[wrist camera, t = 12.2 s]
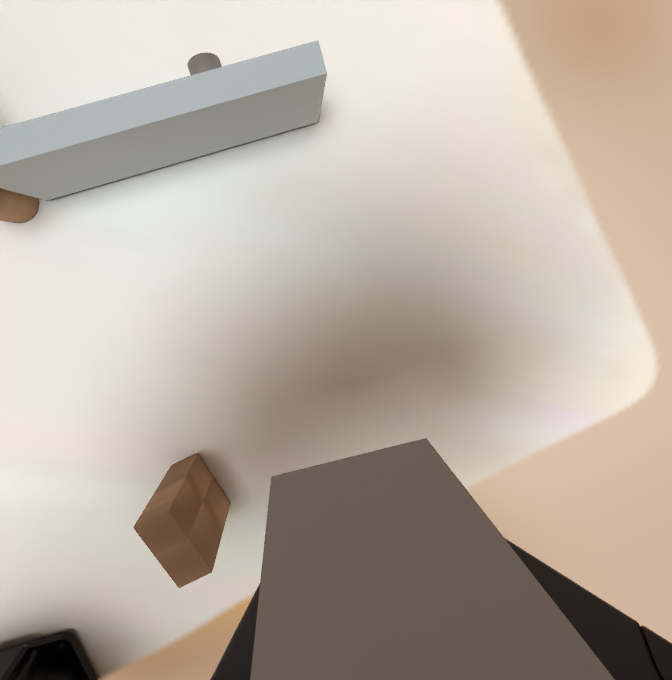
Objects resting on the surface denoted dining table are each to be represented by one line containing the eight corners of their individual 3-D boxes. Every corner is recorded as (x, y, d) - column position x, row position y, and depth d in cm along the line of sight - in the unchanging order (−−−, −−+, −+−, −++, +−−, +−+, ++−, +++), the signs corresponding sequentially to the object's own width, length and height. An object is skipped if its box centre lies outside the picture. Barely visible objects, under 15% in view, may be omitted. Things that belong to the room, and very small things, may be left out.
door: (46, 200, 15) (-41, 176, 11) (21, 147, 14) (-80, 102, 10) (318, 121, 16) (327, 73, 12) (303, 68, 15) (307, -1, 11)
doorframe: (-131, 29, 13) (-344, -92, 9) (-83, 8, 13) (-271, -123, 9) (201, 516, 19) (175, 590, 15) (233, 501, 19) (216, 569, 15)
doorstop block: (444, 563, 9) (638, 944, 4) (306, 602, 9) (323, 1067, 4) (426, 438, 9) (644, 717, 3) (271, 476, 8) (231, 856, 3)
